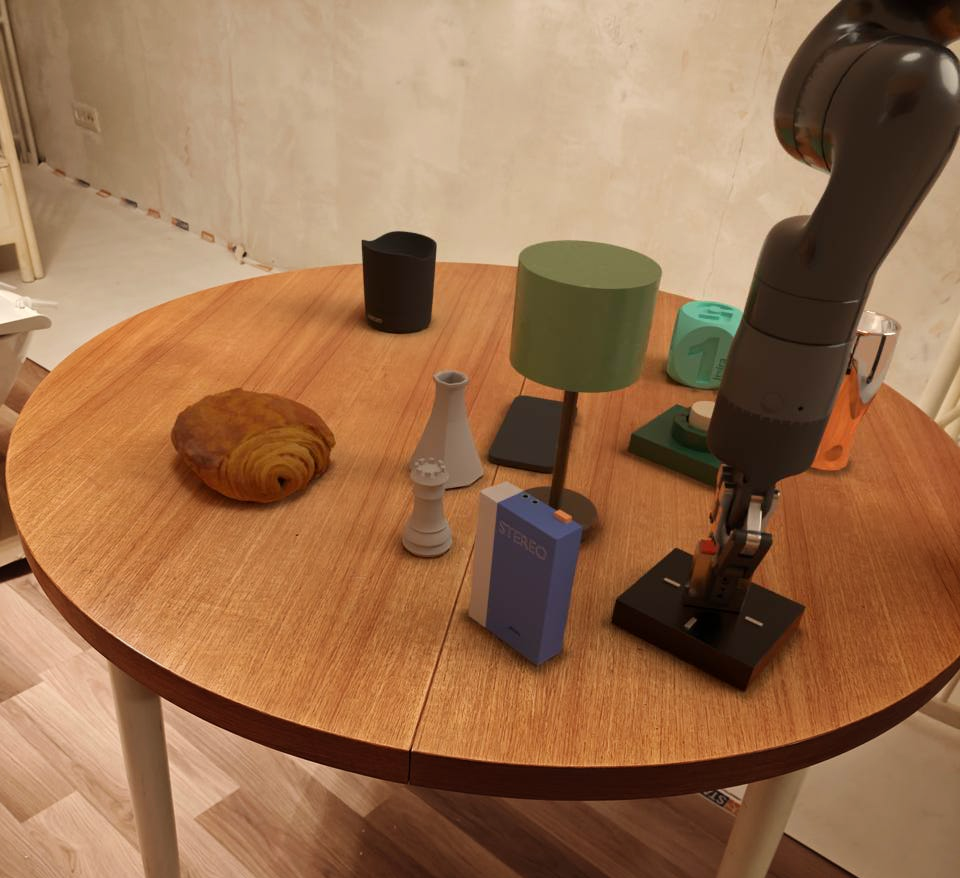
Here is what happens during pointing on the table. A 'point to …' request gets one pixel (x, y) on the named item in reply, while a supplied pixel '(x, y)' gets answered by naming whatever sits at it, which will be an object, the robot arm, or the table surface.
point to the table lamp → (580, 336)
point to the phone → (528, 434)
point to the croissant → (253, 444)
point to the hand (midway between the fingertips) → (714, 593)
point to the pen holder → (399, 281)
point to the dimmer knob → (699, 577)
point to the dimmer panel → (707, 623)
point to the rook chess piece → (428, 511)
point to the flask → (450, 432)
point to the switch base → (676, 445)
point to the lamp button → (701, 414)
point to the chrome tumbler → (858, 387)
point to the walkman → (523, 570)
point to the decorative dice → (702, 343)
